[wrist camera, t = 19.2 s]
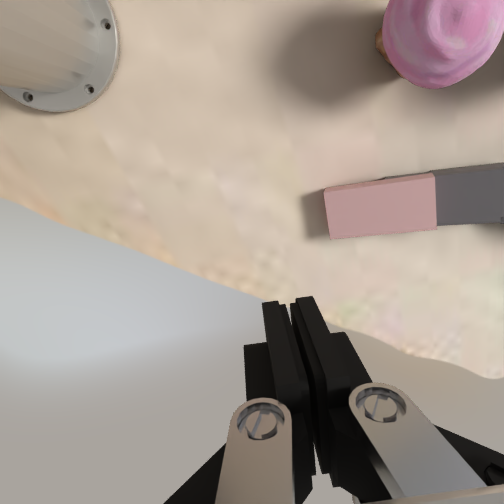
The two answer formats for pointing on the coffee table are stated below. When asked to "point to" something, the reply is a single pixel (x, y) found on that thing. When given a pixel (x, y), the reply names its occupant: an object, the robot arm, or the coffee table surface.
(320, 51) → the coffee table surface
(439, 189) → the domino
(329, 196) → the rose domino
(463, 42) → the cupcake
